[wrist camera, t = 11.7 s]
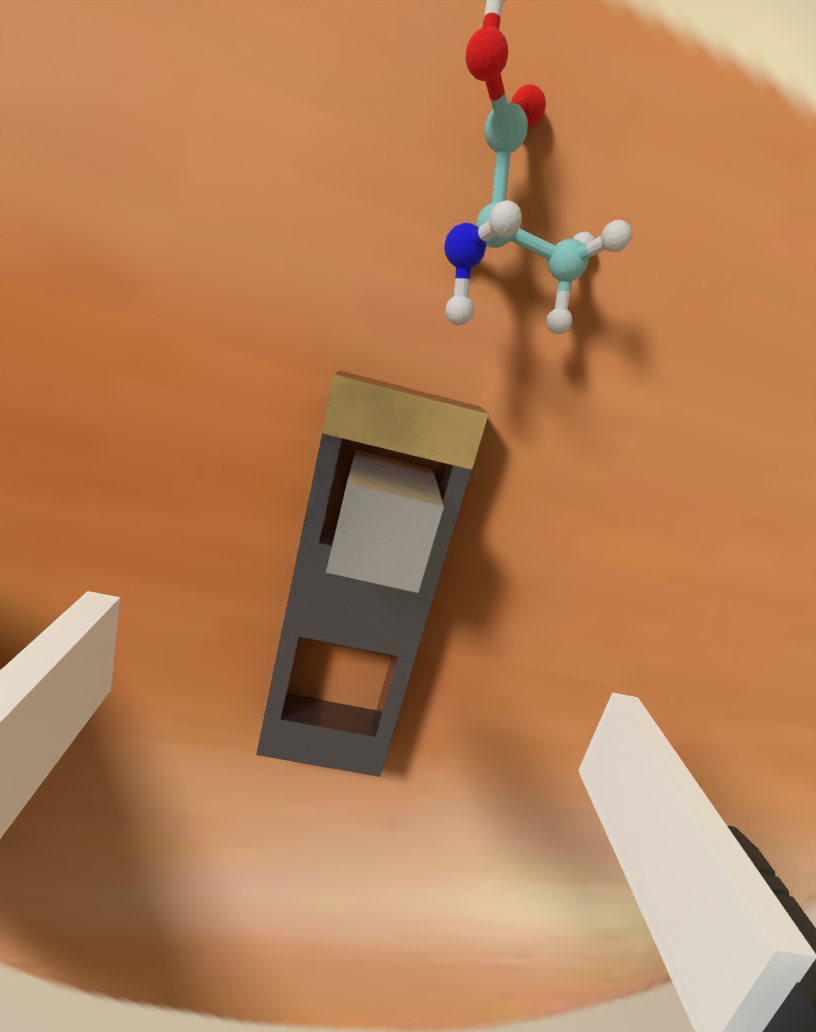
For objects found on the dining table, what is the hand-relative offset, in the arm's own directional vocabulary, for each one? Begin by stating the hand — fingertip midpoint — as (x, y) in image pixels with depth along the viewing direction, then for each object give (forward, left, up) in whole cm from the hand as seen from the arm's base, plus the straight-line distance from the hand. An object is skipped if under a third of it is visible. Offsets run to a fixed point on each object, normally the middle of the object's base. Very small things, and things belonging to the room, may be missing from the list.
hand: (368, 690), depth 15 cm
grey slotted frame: (0, -6, -18) cm, 19 cm away
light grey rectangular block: (0, 0, -19) cm, 19 cm away
